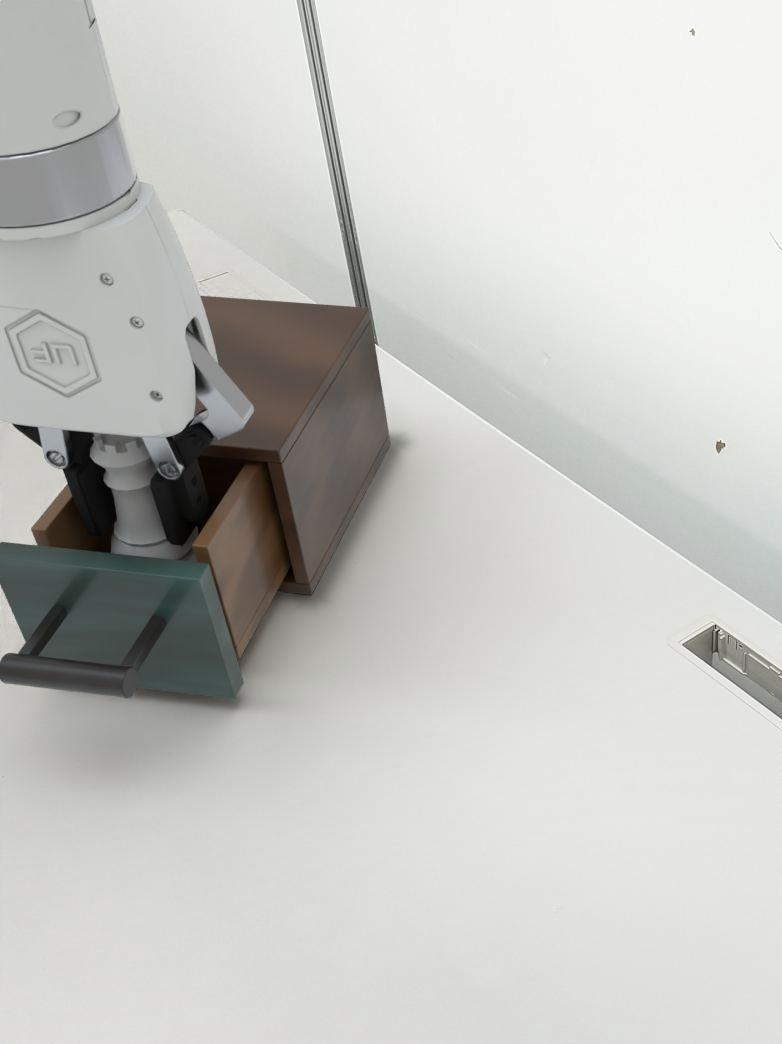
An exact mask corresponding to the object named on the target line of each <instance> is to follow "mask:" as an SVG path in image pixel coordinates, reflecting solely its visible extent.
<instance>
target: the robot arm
mask: <svg viewBox="0 0 782 1044" xmlns="http://www.w3.org/2000/svg"><path fill="white" fill-rule="evenodd" d="M93 4H94V3H93V1H92V0H0V421H2V422H5V423H8V424H11V425H12V426H13V427H14V428H15V429H16V430H17V431H19V432H20V433H21V434H22V435H24V436H26V437H27V438H28V439H29V440H31V441H32V442H34V443H35V444H36V445H37V446H39V447H40V448H41V449H42V453H43V454H42V455H43V457H44V459H45V461H46V462H47V464H48V465H50V467H53V468H54V469H57V470H62V472H63V475H64V477H65V481H66V484H68V486H69V489H70V491H71V494H72V497H73V500H74V502H75V505H76V507H77V508H78V510H79V512H80V515H81V518H82V521H83V523H84V526H85V529H86V532H87V534H88V535H90V536H98V537H100V536H102V535H103V534H105V533H106V532H107V531H108V529H109V528H110V526H111V525H112V524H113V522H114V521H115V520H116V518H117V515H116V509H115V502H114V496H113V493H112V490H111V488H110V487H108V486H107V485H106V483H105V482H104V473H105V472H106V469H105V468H103V467H101V466H100V465H98V464H96V463H95V462H94V461H93V460H92V458H91V457H90V449H91V447H92V445H93V443H94V440H93V437H94V434H93V433H101V434H111V435H122V436H133V437H142V440H143V442H144V444H145V446H146V448H147V450H148V453H149V455H150V457H151V459H152V461H153V463H154V465H155V468H156V470H157V472H156V473H155V474H154V476H153V477H152V478H151V481H150V487H151V491H152V494H153V497H154V500H155V504H156V507H157V510H158V513H159V516H160V520H161V523H162V526H163V529H164V533H165V536H166V539H167V541H169V542H170V544H172V545H180V546H183V545H184V544H185V542H186V541H187V539H188V538H189V536H190V535H191V533H192V532H193V530H194V529H195V527H196V526H197V524H198V523H199V522H201V521H202V520H203V519H204V517H205V516H206V514H207V511H208V507H209V500H208V495H207V492H206V488H205V485H204V481H203V477H202V474H201V470H200V466H199V463H198V459H197V458H198V457H199V456H200V455H201V454H202V453H203V452H204V451H205V450H206V449H207V448H208V446H209V445H210V444H212V443H214V442H216V441H220V440H222V439H224V438H226V437H228V436H230V435H232V434H234V433H236V432H238V431H240V430H242V429H243V428H244V426H245V425H246V424H247V422H248V421H249V419H250V418H251V416H252V415H253V413H254V407H253V405H252V403H251V402H250V401H249V400H248V399H247V397H246V396H245V395H244V394H243V393H242V391H241V390H240V389H239V388H238V387H237V386H236V384H235V383H234V382H233V381H232V380H231V378H230V377H229V376H228V375H227V374H226V373H225V371H224V370H223V369H222V368H221V367H220V365H219V364H218V359H217V354H216V350H215V345H214V341H213V337H212V333H211V330H210V326H209V323H208V319H207V316H206V312H205V309H204V306H203V303H202V300H201V297H200V296H201V294H200V292H199V291H200V290H199V288H198V285H197V283H196V280H195V277H194V274H193V272H192V269H191V267H190V264H189V261H188V260H189V259H188V258H187V256H186V254H185V251H184V249H183V245H182V244H181V241H180V239H179V236H178V234H177V232H176V229H175V228H174V225H173V223H172V221H171V219H170V217H169V215H168V213H167V210H166V208H165V206H164V205H163V203H162V201H161V199H160V197H159V195H158V194H157V191H156V189H155V187H154V185H152V184H150V183H147V182H143V181H140V178H139V175H138V171H137V168H136V164H135V160H134V157H133V153H132V149H131V146H130V145H131V144H130V141H129V138H128V133H127V130H126V126H125V123H124V118H123V114H122V111H121V106H120V104H119V101H118V98H117V97H118V96H117V94H116V89H115V85H114V81H113V77H112V73H111V70H110V66H109V62H108V57H107V55H106V51H105V47H104V43H103V38H102V35H101V31H100V27H99V24H98V19H97V15H96V11H95V9H94V5H93ZM196 397H197V398H198V399H199V400H200V401H201V403H202V404H203V405H204V406H205V407H206V409H204V410H201V411H200V412H199V413H198V414H197V415H196V416H195V415H194V412H195V402H196ZM172 436H174V439H173V437H172Z"/></svg>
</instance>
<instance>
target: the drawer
mask: <svg viewBox="0 0 782 1044" xmlns="http://www.w3.org/2000/svg"><path fill="white" fill-rule="evenodd" d="M197 459H198V463H199V466H200V470H201V474H202V477H203V481H204V485H205V488H206V492H207V495H208V500H209V507H208V511H207V514H206V516H205V517H204V519H203V520H202V521H201V522H199V523H198V524H197V527H198V537H197V538H196V540H195V541H194V543H193V544H192V547H193V550H194V554H195V557H196V560H197V562H191V561H182V560H172V559H163V558H153V557H143V556H134V555H124V554H115V553H111V536H112V534H113V533H114V524H115V522H116V521H117V518H116V520H115V521H114V522H113V524H112V525H111V526H110V528H109V529H108V531H107V532H106V533H105V534H103V535H102V536H100V537H98V536H90V535H88V534H87V532H86V529H85V526H84V523H83V521H82V518H81V515H80V512H79V510H78V508H77V507H76V505H75V502H74V500H73V497H72V494H71V491H70V489H69V486H68V483H66V485H65V486H64V487H63V488H62V489H61V491H59V493H58V494H57V496H56V497H55V498H54V499H53V501H52V502H51V503H50V504H49V505H48V507H47V508H46V509H45V510H44V512H43V513H42V514H41V515H40V517H39V518H38V519H37V520H36V522H34V524H33V525H32V526H31V528H30V531H31V533H32V536H33V539H34V541H35V543H36V544H26V543H18V542H9V541H8V542H7V541H1V542H0V588H1V590H2V593H3V594H4V597H5V598H6V601H7V603H8V606H9V608H10V610H11V612H12V615H13V618H14V619H15V621H16V624H17V627H18V628H19V630H20V633H21V635H22V638H23V639H24V642H25V643H24V644H23V645H22V647H21V648H20V650H19V651H17V653H15V652H7V653H5V654H4V655H3V656H2V657H1V659H0V681H1V682H2V683H3V684H5V685H16V686H23V687H30V688H31V687H32V688H39V689H46V690H47V689H48V690H56V691H62V692H63V691H64V692H72V693H81V694H88V695H89V694H90V695H98V696H104V697H113V698H122V699H130V698H132V697H133V696H134V695H135V693H136V692H137V689H138V688H139V689H146V690H155V691H163V692H171V693H180V694H187V695H188V694H189V695H195V696H196V695H197V696H198V695H199V696H206V697H211V698H212V697H214V698H222V699H228V700H229V699H230V700H236V698H237V697H238V694H239V693H240V690H241V689H242V687H243V685H244V682H245V681H244V679H243V675H242V672H241V668H240V665H239V662H238V661H239V660H238V659H241V657H242V655H243V653H244V652H245V650H246V648H247V646H248V644H249V643H250V640H251V639H252V637H253V635H254V634H255V632H256V629H257V628H258V626H259V624H260V623H261V622H262V619H263V617H264V616H265V613H266V612H267V610H268V608H269V606H270V604H271V603H272V601H273V599H274V597H275V595H276V594H277V592H278V591H277V590H278V588H279V586H280V585H281V583H282V581H283V579H284V577H285V576H286V574H287V572H288V570H289V568H290V567H291V565H292V564H291V560H290V556H289V551H288V547H287V543H286V539H285V535H284V530H283V526H282V522H281V518H280V514H279V509H278V505H277V501H276V497H275V492H274V488H273V484H272V480H271V476H270V471H269V467H268V462H263V461H252V460H241V459H230V458H219V457H208V456H199V457H198V458H197Z"/></svg>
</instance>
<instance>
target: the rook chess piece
mask: <svg viewBox="0 0 782 1044" xmlns="http://www.w3.org/2000/svg"><path fill="white" fill-rule="evenodd" d="M93 434H94V437H93V440H94V443H93V445H92V447H91V449H90V457H91V458H92V460H93V461H94V462H95V463H96V464H98V465H100V466H101V467H103V468H105V469H106V472H105V473H104V482H105V483H106V485H107V486H108V487H110V488H111V490H112V493H113V496H114V502H115V509H116V515H117V521H116V522H115V524H114V533H113V534H112V536H111V553H115V554H124V555H134V556H143V557H153V558H163V559H172V560H182V561H191V562H197V560H196V557H195V554H194V550H193V547H192V544H193V543H194V541H195V540H196V538H197V537H198V527H197V526H196V527H195V529H194V530H193V532H192V533H191V535H190V536H189V538H188V539H187V541H186V542H185V544H184V545H183V546H180V545H172V544H170V542H169V541H167V539H166V536H165V533H164V529H163V526H162V523H161V520H160V516H159V513H158V510H157V507H156V504H155V500H154V497H153V494H152V491H151V487H150V481H151V478H152V477H153V476H154V474H155V473H156V472H157V470H156V468H155V465H154V463H153V461H152V459H151V457H150V455H149V453H148V450H147V448H146V446H145V444H144V442H143V440H142V437H133V436H122V435H111V434H101V433H93Z"/></svg>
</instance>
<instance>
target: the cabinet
mask: <svg viewBox="0 0 782 1044" xmlns="http://www.w3.org/2000/svg"><path fill="white" fill-rule="evenodd" d="M200 297H201V300H202V303H203V306H204V309H205V312H206V316H207V319H208V323H209V326H210V330H211V333H212V337H213V341H214V345H215V350H216V354H217V359H218V364H219V365H220V367H221V368H222V369H223V370H224V371H225V373H226V374H227V375H228V376H229V377H230V378H231V380H232V381H233V382H234V383H235V384H236V386H237V387H238V388H239V389H240V390H241V391H242V393H243V394H244V395H245V396H246V397H247V399H248V400H249V401H250V402H251V403H252V405H253V407H254V413H253V415H252V416H251V418H250V419H249V421H248V422H247V424H246V425H245V426H244V428H243V429H242V430H240V431H238V432H236V433H234V434H232V435H230V436H228V437H226V438H224V439H222V440H220V441H216V442H214V443H212V444H210V445H209V446H208V448H207V449H206V450H205V451H204V452H203V453H202V454H201V455H200V456H208V457H219V458H230V459H241V460H252V461H263V462H268V467H269V471H270V476H271V480H272V484H273V488H274V492H275V497H276V501H277V505H278V509H279V514H280V518H281V522H282V526H283V530H284V535H285V539H286V543H287V547H288V551H289V556H290V560H291V564H292V565H291V567H290V568H289V570H288V572H287V574H286V576H285V577H284V579H283V581H282V583H281V585H280V586H279V588H278V590H277V592H280V593H291V594H299V595H310V596H311V595H313V593H314V591H315V589H316V587H317V585H318V583H319V582H320V580H321V578H322V576H323V574H324V572H325V570H326V569H327V567H328V564H329V563H330V561H331V558H332V557H333V555H334V553H335V551H336V549H337V548H338V545H339V544H340V542H341V540H342V538H343V535H344V534H345V532H346V530H347V529H348V526H349V524H350V522H351V520H352V519H353V516H354V515H355V513H356V511H357V509H358V507H359V505H360V503H361V501H362V499H363V498H364V496H365V493H366V492H367V490H368V488H369V486H370V484H371V482H372V480H373V479H374V476H375V474H376V472H377V470H378V469H379V467H380V465H381V463H382V461H383V459H384V457H385V456H386V453H387V451H388V450H389V448H390V446H391V439H390V431H389V424H388V419H387V412H386V411H387V410H386V406H385V399H384V393H383V386H382V380H381V374H380V367H379V362H378V353H377V348H376V342H375V341H376V340H375V336H374V329H373V323H372V320H371V319H372V317H371V311H370V308H369V307H364V306H351V305H350V306H349V305H338V304H337V305H335V304H321V303H311V302H309V303H308V302H296V301H295V302H294V301H281V300H268V299H267V300H266V299H252V298H241V297H240V298H239V297H223V296H213V295H211V296H210V295H200ZM204 409H206V407H205V406H204V405H203V404H202V403H201V401H200V400H199V399H198V398H197V397H196V402H195V412H194V415H195V416H196V415H197V414H198V413H199V412H200V411H201V410H204ZM172 437H173V439H174V436H172Z"/></svg>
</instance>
